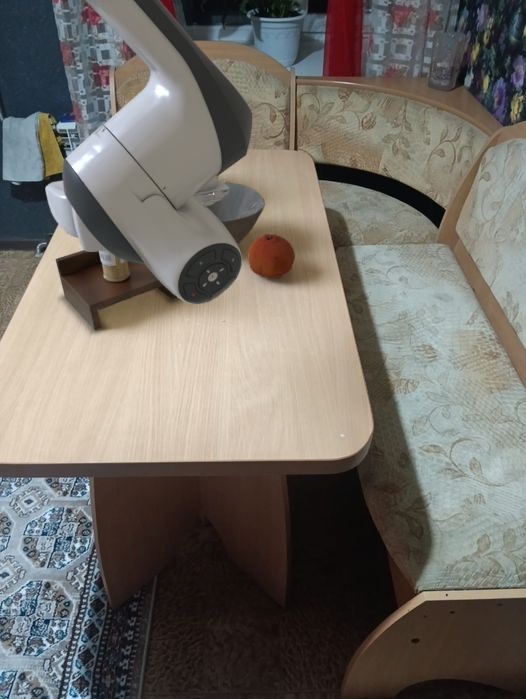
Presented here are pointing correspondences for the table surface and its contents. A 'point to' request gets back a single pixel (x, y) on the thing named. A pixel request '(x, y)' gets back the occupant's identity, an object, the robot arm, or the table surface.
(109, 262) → the sprinkles bottle
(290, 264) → the fruit
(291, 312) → the table surface
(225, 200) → the bowl
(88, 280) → the shelf
